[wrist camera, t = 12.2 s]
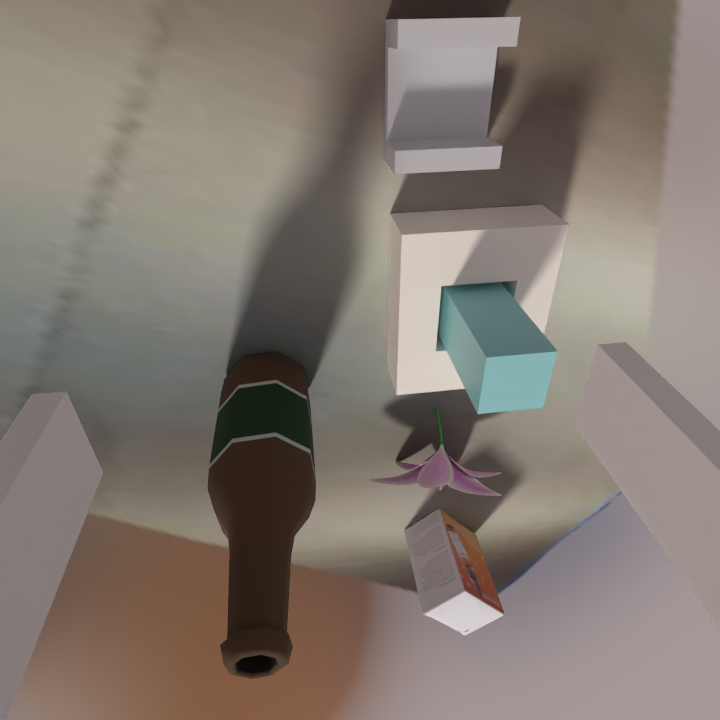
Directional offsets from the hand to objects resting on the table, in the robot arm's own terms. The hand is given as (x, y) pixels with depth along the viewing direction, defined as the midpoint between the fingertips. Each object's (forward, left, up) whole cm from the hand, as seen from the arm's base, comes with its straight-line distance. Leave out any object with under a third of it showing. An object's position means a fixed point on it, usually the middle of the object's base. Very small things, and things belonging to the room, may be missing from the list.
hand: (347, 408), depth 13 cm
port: (+11, +12, -27) cm, 31 cm away
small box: (+44, +13, -27) cm, 53 cm away
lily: (+28, +11, -27) cm, 40 cm away
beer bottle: (+19, -5, -27) cm, 33 cm away
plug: (+11, +12, -26) cm, 30 cm away
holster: (-4, +9, -27) cm, 28 cm away
